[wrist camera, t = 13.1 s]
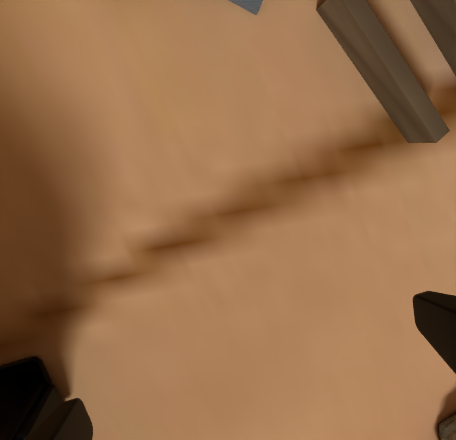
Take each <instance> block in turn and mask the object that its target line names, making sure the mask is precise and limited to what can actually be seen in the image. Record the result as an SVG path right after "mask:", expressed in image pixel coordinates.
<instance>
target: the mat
mask: <svg viewBox="0 0 456 440" xmlns="http://www.w3.org/2000/svg"><path fill="white" fill-rule="evenodd" d="M229 1H231V2H233V3H235V4H237V5H238V6H240V7H242V8H244V9H246V10H248V11H250V12H252V13H253V14H255V15H257V13H258V11H259V9H260V6H261V4H262V1H263V0H229Z"/></svg>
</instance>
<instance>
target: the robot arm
mask: <svg viewBox="0 0 456 440" xmlns="http://www.w3.org/2000/svg"><path fill="white" fill-rule="evenodd" d="M413 308H414V317H415V323H416V326H417V328H418V330H419V331H420V332H421V334H422V335H423V336H424V337H425V338H426V340H427V341H428V342H429V343H430V344H431V345H432V347H433V348H434V349H435V350H436V351H437V353H438V354H439V355H440V356H441V357H442V358H443V360H444V361H445V362H446V363H447V364H448V366H449V367H450V368H451V369H452V370H453V371H454V373H455V374H456V296H454V295H448V294H443V293H438V292H432V291H426V292H422V293H419V294H416V295H414V297H413ZM30 364H34V365H35V366H36V367H32V366H31V365H30ZM92 437H93V426H92V422H91V420H90V418H89V415H88V413H87V411H86V408H85V406H84V404H83V402H82V400H81V399H79V398H75V399H72V400H68V401H65V402H62V400H61V398H60V396H59V393H58V391H57V389H56V387H55V386H54V385H53V384H52V382H51V380H50V378H49V375H48V373H47V371H46V369H45V367H44V365H43V362H42V361H41V359H40V358H38V357H29V358H26V359H22V360H19V361H16V362H12V363H9V364H5V365H2V366H0V440H92Z"/></svg>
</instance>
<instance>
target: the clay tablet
mask: <svg viewBox="0 0 456 440" xmlns="http://www.w3.org/2000/svg"><path fill="white" fill-rule="evenodd" d="M439 436H440V438H441V440H456V414H455V415H454V416H452V417H450V418H448V419H446V420H445V421H443V422H442V423H440V424H439Z"/></svg>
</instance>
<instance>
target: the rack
mask: <svg viewBox="0 0 456 440" xmlns="http://www.w3.org/2000/svg"><path fill="white" fill-rule="evenodd" d="M410 1H411V2H412V4H413V6H414V7H415V9H416V11H417V12H418V14H419V16H420V17H421V19H422V21H423V22H424V24H425V26H426V27H427V29H428V31H429V32H430V34H431V35H432V37H433V39H434V40H435V42H436V44H437V45H438V47H439V49H440V50H441V52H442V54H443V55H444V57H445V59H446V60H447V62H448V64H449V65H450V67H451V69H452V70H453V72H454V74H455V75H456V0H410ZM317 12H318V13H319V15H320V16H321V17H322V19H323V20H324V22H325V23H326V25H327V26H328V28H329V29H330V30H331V32H332V33H333V35H334V36H335V38H336V39H337V41H338V42H339V43H340V45H341V46H342V48H343V49H344V51H345V52H346V54H347V55H348V57H349V58H350V59H351V61H352V62H353V64H354V65H355V67H356V68H357V70H358V71H359V72H360V74H361V75H362V77H363V78H364V80H365V81H366V83H367V84H368V85H369V87H370V88H371V90H372V91H373V93H374V94H375V96H376V97H377V99H378V100H379V101H380V103H381V104H382V106H383V107H384V109H385V110H386V112H387V113H388V114H389V116H390V117H391V119H392V120H393V122H394V123H395V125H396V126H397V128H398V129H399V130H400V132H401V133H402V135H403V136H404V138H405V139H406V141H407V142H408V143H437V142H438V141H439V140H440V139H441V138H442V137H443V136H444V135H446V134H447V133H448V132H449V131H450V130H449V129H448V127H447V126H446V124H445V122H444V121H443V119H442V118H441V116H440V115H439V113H438V112H437V110H436V108H435V107H434V105H433V104H432V102H431V101H430V99H429V97H428V96H427V94H426V93H425V91H424V90H423V88H422V87H421V85H420V83H419V82H418V80H417V79H416V77H415V76H414V74H413V72H412V71H411V69H410V68H409V66H408V65H407V63H406V62H405V60H404V58H403V57H402V55H401V54H400V52H399V51H398V49H397V48H396V46H395V44H394V43H393V41H392V40H391V38H390V37H389V35H388V33H387V32H386V30H385V29H384V27H383V26H382V24H381V23H380V21H379V19H378V18H377V16H376V15H375V13H374V12H373V10H372V8H371V7H370V5H369V4H368V2H367V1H366V0H326V1H325V2H324V3H323V4H322V5H321V6H320V7H319V8H318V9H317Z"/></svg>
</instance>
